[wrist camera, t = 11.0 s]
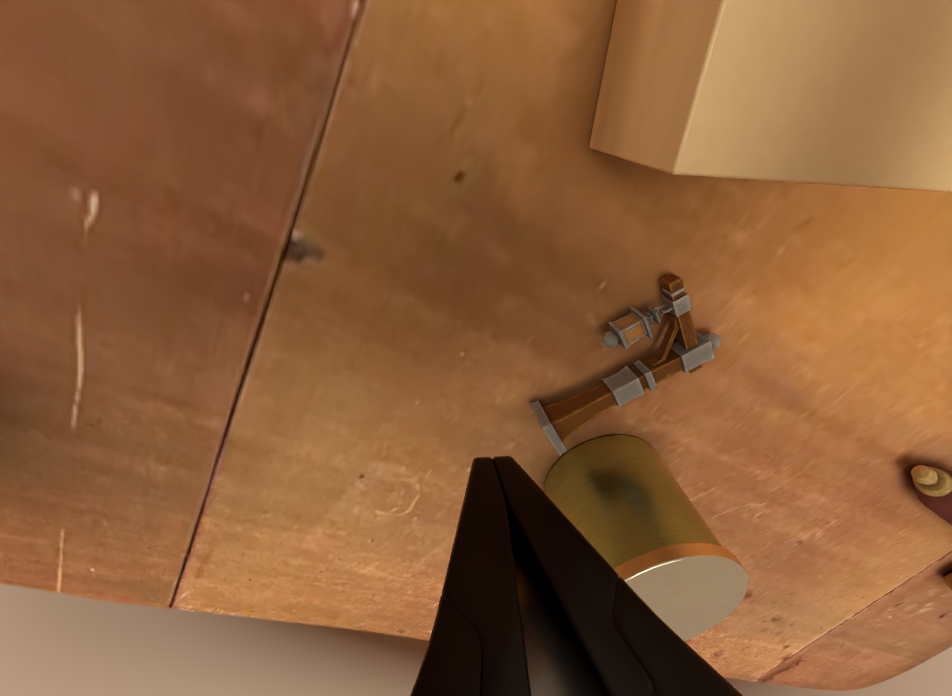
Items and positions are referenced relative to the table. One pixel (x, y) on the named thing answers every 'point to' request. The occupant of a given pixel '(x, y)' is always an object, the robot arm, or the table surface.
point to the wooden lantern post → (634, 363)
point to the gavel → (935, 494)
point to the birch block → (782, 90)
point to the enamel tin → (648, 531)
